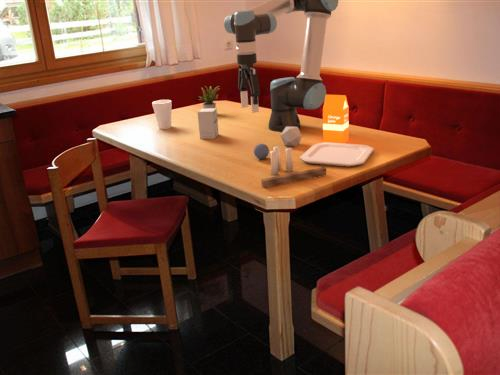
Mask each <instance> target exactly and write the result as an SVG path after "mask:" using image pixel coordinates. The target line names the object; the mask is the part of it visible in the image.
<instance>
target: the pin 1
mask: <svg viewBox="0 0 500 375" xmlns="http://www.w3.org/2000/svg"><path fill="white" fill-rule="evenodd" d="M269 153H270V168H271V169H270V171H271V176H277V175H279V170H278V160H277V151H274V150H269Z"/></svg>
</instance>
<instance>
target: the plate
mask: <svg viewBox="0 0 500 375" xmlns="http://www.w3.org/2000/svg"><path fill="white" fill-rule="evenodd" d="M374 150H375V149H374V148H373V147H372V146H370V145H367V144H359V143H358V144H357V143H329V142H324V143H323V142H318V143H314V144H313V145H311V146H310V147H309V148H308V149H307V150H306V151H305V152H304V153H303V154H302V155H301V156H299V159H300V160H302V161H304V162H305V163H308V164H311V165H319V164H320V165H322V166H331V165H333V166H334V167H343V166H346V167H345V168H350V167H351V166H352V167H356V165H357V166H360V165H363V164H364V163H366V161H367V160H368V159H369V157H370V156H371V155H372V153H373V152H374ZM333 166H332V167H333Z"/></svg>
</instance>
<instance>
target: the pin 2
mask: <svg viewBox="0 0 500 375" xmlns="http://www.w3.org/2000/svg"><path fill="white" fill-rule="evenodd" d="M293 159H294V158H293V148H292V147H286V148H285V166H286V167H285V168H286V172H287V173H293V171H294V164H293Z"/></svg>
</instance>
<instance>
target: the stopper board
mask: <svg viewBox="0 0 500 375" xmlns="http://www.w3.org/2000/svg"><path fill="white" fill-rule="evenodd" d="M323 175H326V176H327V168H326V167H324V166H323V167H317V168H312V169H307V170H303V171H298V172H290V173H286V174H282V175H278V176H277V175H275V176H272V177H267V178H262V179H261V180H260V181H261V187H262V188H263V187H267V188H270V187H269V186H272V187H275V186H274V185H277V186H280V185H279V184H282V185H285V184H284V183H287V184H291V183H290V182H292V183H296V182H295V181H297V182H300V180H301V181H306V180H311V179H315V178H314V177H316V178H320V177H319V176H321V177H324V176H323ZM310 178H311V179H310Z"/></svg>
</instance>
